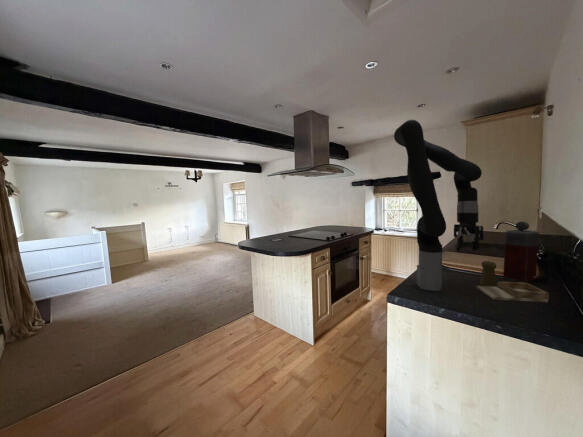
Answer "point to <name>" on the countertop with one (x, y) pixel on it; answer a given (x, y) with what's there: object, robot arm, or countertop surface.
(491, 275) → the olive yellow waisted cylinder
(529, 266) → the red coffee grinder
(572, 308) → the countertop surface
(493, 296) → the socket board
